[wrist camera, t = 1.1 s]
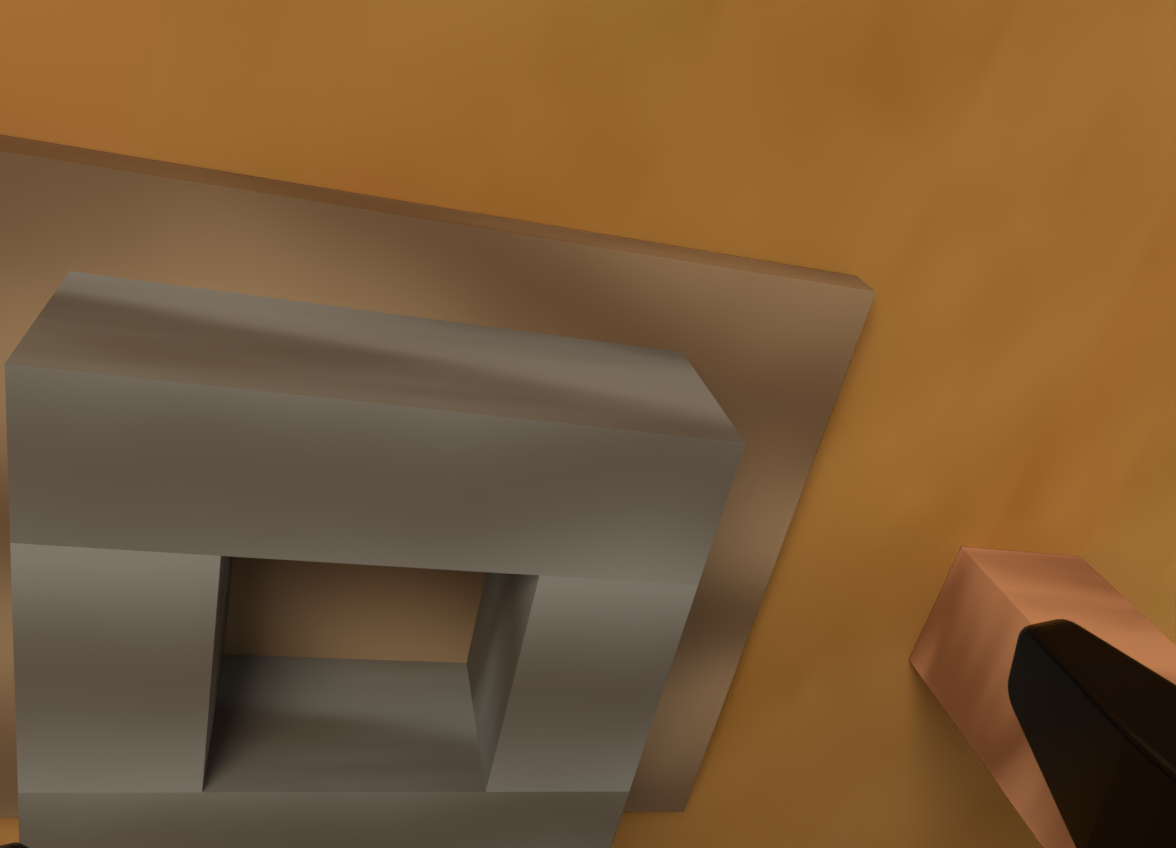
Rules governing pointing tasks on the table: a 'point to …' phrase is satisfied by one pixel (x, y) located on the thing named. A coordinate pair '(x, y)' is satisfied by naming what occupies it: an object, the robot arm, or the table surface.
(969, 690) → the peg
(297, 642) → the socket board
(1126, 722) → the robot arm
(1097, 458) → the table surface
